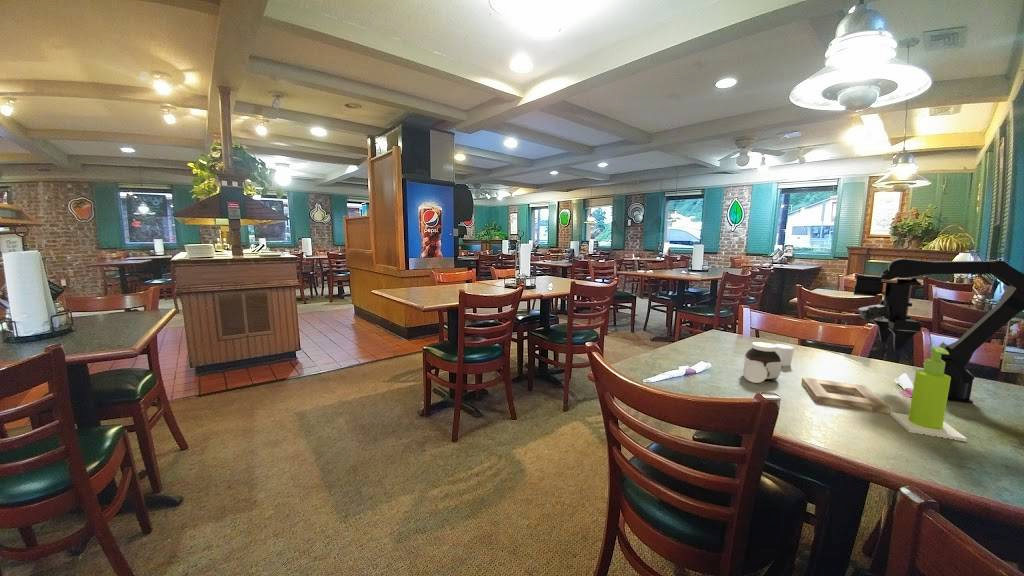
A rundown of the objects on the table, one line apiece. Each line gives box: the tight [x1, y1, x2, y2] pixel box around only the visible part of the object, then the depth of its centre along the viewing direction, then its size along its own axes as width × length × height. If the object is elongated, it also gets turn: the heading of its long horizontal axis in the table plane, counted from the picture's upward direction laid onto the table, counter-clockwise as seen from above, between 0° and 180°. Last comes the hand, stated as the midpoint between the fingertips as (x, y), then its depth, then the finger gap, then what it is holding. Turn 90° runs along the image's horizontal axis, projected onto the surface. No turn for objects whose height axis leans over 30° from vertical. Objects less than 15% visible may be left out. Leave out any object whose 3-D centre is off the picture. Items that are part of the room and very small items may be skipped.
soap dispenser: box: [908, 345, 951, 429], centre depth 94 cm, size 6×7×20 cm
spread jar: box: [742, 341, 782, 384], centre depth 127 cm, size 12×11×12 cm
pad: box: [889, 411, 968, 442], centre depth 96 cm, size 10×10×1 cm
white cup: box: [772, 343, 795, 367], centre depth 143 cm, size 7×7×7 cm
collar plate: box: [801, 376, 891, 414], centre depth 114 cm, size 16×16×2 cm
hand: (889, 346), depth 121 cm, fingers open, 9 cm apart
